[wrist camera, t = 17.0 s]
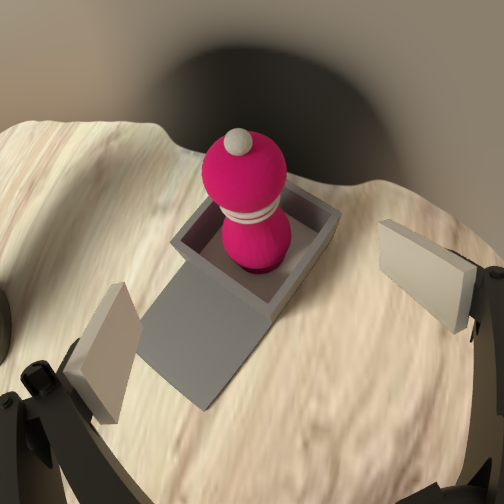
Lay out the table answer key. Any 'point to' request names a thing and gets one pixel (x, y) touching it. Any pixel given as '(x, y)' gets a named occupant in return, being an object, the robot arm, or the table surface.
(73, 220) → the table surface
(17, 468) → the robot arm
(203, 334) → the box
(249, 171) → the pepper mill
